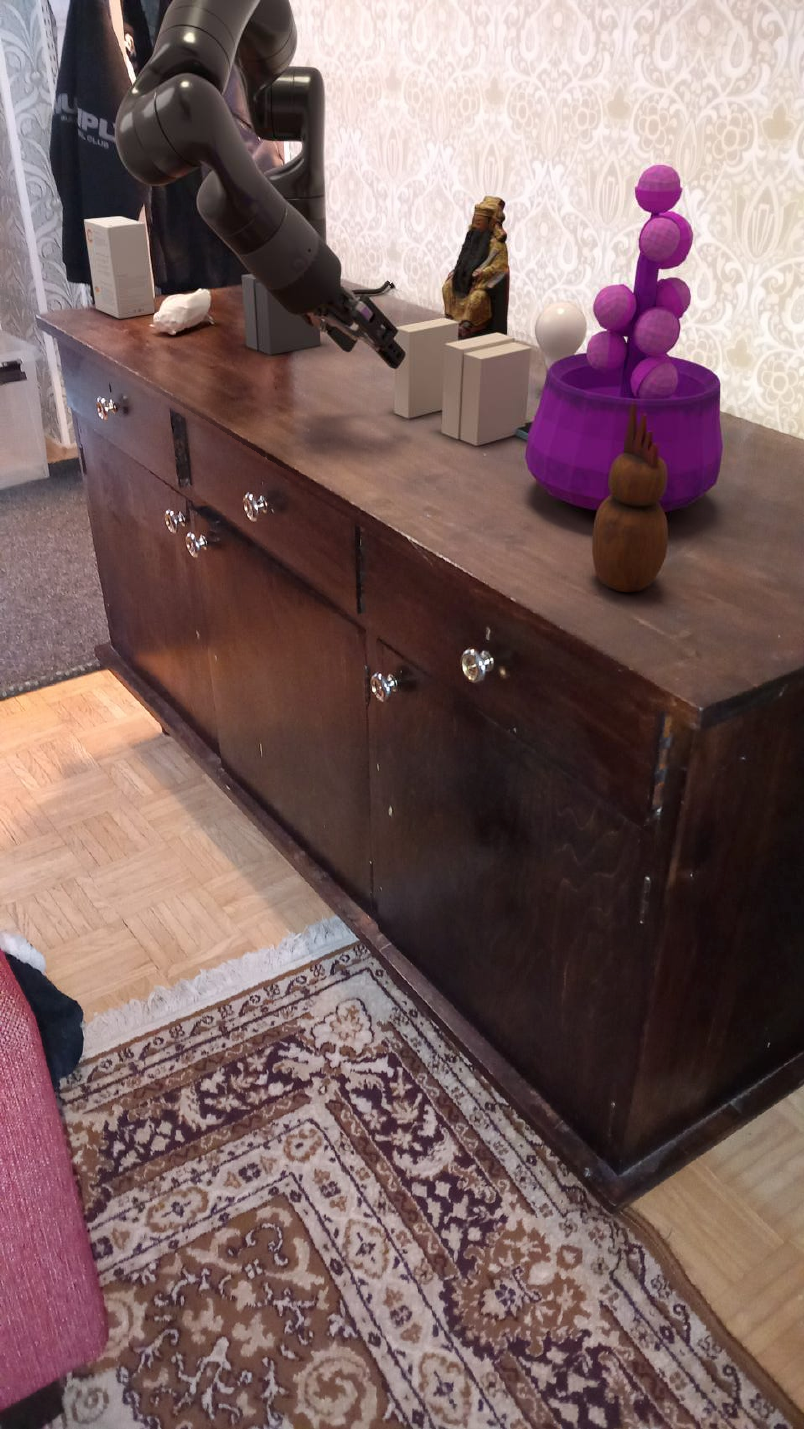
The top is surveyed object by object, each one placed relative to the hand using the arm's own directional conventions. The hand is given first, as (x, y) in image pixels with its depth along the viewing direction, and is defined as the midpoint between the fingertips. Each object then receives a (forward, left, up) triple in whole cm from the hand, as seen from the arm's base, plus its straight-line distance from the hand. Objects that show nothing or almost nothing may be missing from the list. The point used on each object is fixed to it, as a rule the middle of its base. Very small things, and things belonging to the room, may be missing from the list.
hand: (375, 353), depth 120 cm
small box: (-34, -55, -8) cm, 65 cm away
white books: (-2, +13, -8) cm, 15 cm away
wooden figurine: (+30, +35, -8) cm, 47 cm away
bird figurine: (-28, -41, -8) cm, 51 cm away
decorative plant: (+12, +31, -8) cm, 34 cm away
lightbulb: (-20, +17, -8) cm, 27 cm away
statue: (-31, +3, -8) cm, 32 cm away
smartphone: (-7, +23, -9) cm, 25 cm away
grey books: (-26, -24, -8) cm, 36 cm away
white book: (-7, +4, -8) cm, 11 cm away
